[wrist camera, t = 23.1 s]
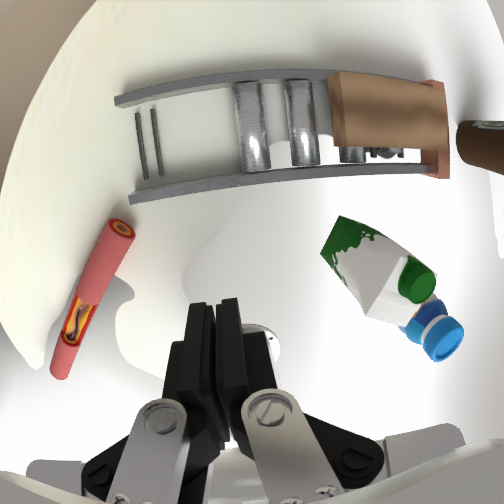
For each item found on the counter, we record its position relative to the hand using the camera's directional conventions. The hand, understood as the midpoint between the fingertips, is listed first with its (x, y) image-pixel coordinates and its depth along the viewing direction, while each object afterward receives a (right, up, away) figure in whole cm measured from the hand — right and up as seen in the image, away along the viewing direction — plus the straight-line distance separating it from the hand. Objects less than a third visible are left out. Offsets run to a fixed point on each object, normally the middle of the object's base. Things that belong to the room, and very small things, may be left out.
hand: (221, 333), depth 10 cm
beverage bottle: (+28, -3, +39) cm, 48 cm away
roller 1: (+1, +21, +27) cm, 34 cm away
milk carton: (+17, +5, +35) cm, 39 cm away
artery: (-31, -8, +35) cm, 48 cm away
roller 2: (+8, +22, +27) cm, 35 cm away
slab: (+21, +23, +24) cm, 39 cm away
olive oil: (+45, +26, +30) cm, 60 cm away
